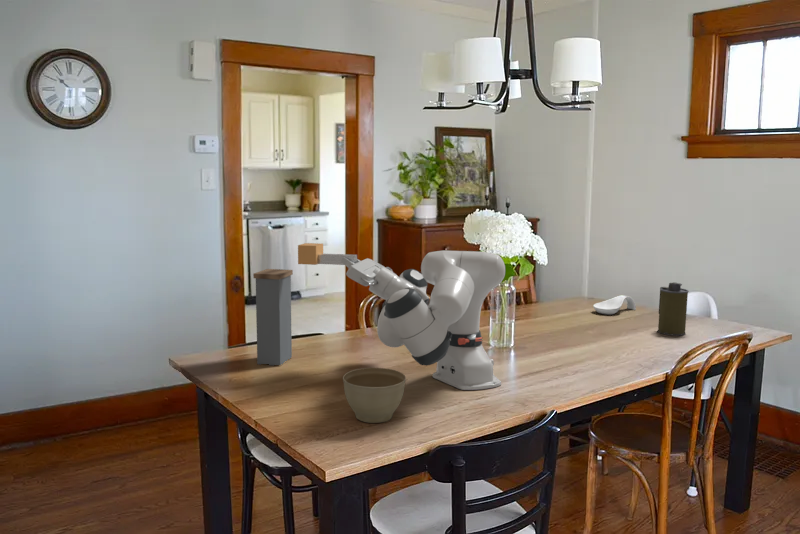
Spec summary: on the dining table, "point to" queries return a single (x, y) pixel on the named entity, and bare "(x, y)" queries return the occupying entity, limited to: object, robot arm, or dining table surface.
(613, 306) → the spoon rest
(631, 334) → the dining table surface
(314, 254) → the bar
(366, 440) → the dining table surface
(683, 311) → the canister
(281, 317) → the cabinet stand
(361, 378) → the planter bowl
